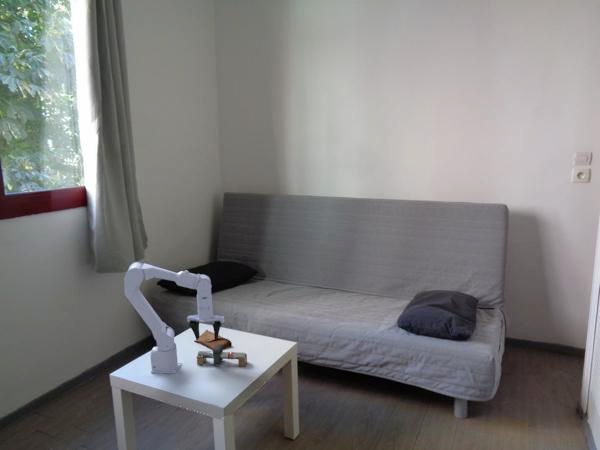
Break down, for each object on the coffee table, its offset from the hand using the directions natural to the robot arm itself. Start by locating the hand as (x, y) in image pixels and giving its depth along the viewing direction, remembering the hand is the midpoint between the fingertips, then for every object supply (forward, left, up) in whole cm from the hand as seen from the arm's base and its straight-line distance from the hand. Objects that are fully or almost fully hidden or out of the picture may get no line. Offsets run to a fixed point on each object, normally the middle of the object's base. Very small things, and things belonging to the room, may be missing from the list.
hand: (207, 338), depth 179 cm
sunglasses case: (-5, +18, -11) cm, 22 cm away
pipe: (+6, 0, -10) cm, 12 cm away
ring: (+4, 0, -10) cm, 11 cm away
